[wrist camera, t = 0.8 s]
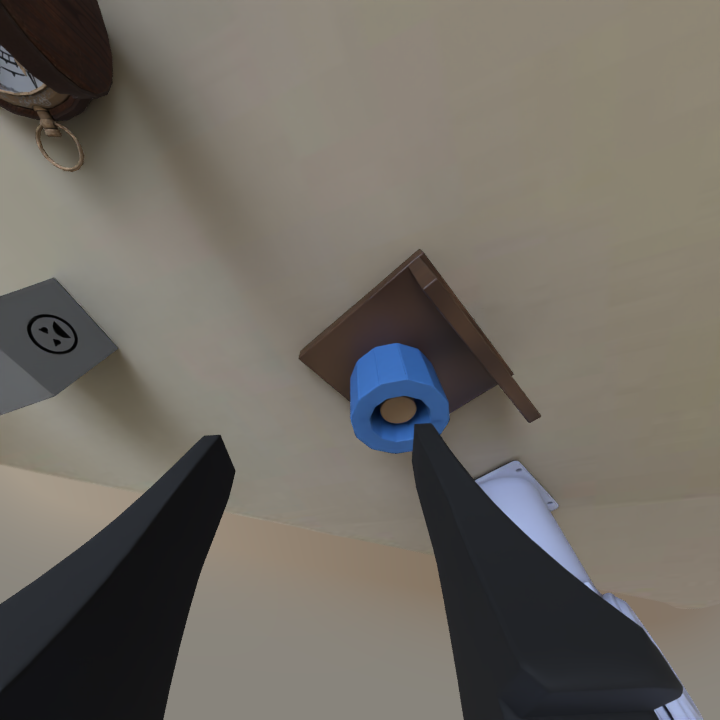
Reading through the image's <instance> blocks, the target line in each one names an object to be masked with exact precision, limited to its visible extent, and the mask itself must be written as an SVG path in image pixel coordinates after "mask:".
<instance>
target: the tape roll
mask: <svg viewBox="0 0 720 720" xmlns="http://www.w3.org/2000/svg"><path fill="white" fill-rule="evenodd" d="M401 396H408V397H412V398H414V399H415V402H416V406H417V410H416V413H415V415H414V416H413V417H412V418H411V419H410V420H408V421H407V422H404V423H399V424H395V423H390V422H388V421H386V420H385V419H384V418H383V417H382V416H381V413H380V407H379V404H381V403H382V402H384V401H385V400H386V399H389V398H395V397H401ZM350 419H351V423H352V426H353V429H354V433H355V435H356V437H357V438H358V439H359V440H361V441H362V442H363V443H364V444H366V445H367V446H368V447H370V448H371V449H374V450H379V451H384V452H388V453H395V454H397V453H403V452H409V451H413V437H414V424H422V423H431V424H433V425H434V427H435V428H436V430H437V431H438V433H439V435H440V434H441V433H442V431H443V430H444V428H445V427H446V425H447V424H448V422H449V420H450V418H449V402H448V400H447V397H446V395H445V393H444V390H443V388H442V386H441V384H440V381H439V379H438V377H437V374H436V372H435V370H434V367H433V365H432V363H431V362H430V361H429V360H428V359H427V357H426V356H425V355H424V354H423V353H422V352H421V351H420V350H419V349H417V348H414V347H410V346H407V345H403V344H400V343H394V344H388V345H383V346H378V347H375V348H373V349H372V350H370V351H369V352H368V353H367V354H365V355H364V356H363V357H361V358H360V359H359V360H358V361H357V362H356V365H355V367H354V370H353V372H352V375H351V378H350Z"/></svg>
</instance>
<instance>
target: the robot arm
mask: <svg viewBox="0 0 720 720" xmlns="http://www.w3.org/2000/svg"><path fill="white" fill-rule="evenodd" d="M412 464H413V471H414V477H415V483H416V488H417V492H418V496H419V499H420V503H421V507H422V510H423V514H424V517H425V521H426V525H427V528H428V532H429V536H430V539H431V543H432V546H433V550H434V554H435V558H436V562H437V567H438V572H439V578H440V582H441V588H442V593H443V599H444V604H445V610H446V615H447V620H448V626H449V631H450V638H451V644H452V650H453V655H454V661H455V667H456V673H457V679H458V686H459V692H460V698H461V705H462V711H463V717H464V720H703V717H702V716H701V714H700V712H699V710H698V709H697V707H696V705H695V704H694V702H693V700H692V699H691V697H690V695H689V694H688V692H687V691H686V689H685V688H684V686H683V684H682V683H681V681H680V680H679V678H678V677H677V675H676V673H675V672H674V670H673V669H672V667H671V666H670V664H669V663H668V661H667V660H666V658H665V657H664V655H663V653H662V652H661V651H660V649H659V648H658V646H657V645H656V643H655V642H654V640H653V639H652V637H651V636H650V634H649V633H648V631H647V630H646V628H645V627H644V625H643V624H642V623H641V621H640V620H639V618H638V617H637V616H636V614H635V613H634V611H633V610H632V609H631V607H630V606H629V605H628V604H627V603H626V602H625V601H624V600H622V599H620V598H618V597H615V596H614V595H613V594H612V593H606V594H603V595H602V594H601V593H600V592H599V591H598V590H597V589H596V588H595V586H594V584H593V583H592V581H591V579H590V578H589V576H588V574H587V573H586V571H585V569H584V567H583V566H582V564H581V562H580V561H579V559H578V557H577V556H576V554H575V552H574V551H573V549H572V547H571V545H570V544H569V542H568V540H567V539H566V537H565V535H564V534H563V532H562V530H561V529H560V527H559V525H558V524H557V522H556V520H555V519H554V517H553V515H552V514H551V512H550V511H553V510H555V509H557V508H558V504H557V502H556V501H555V500H554V499H553V498H552V497H551V496H550V494H549V493H548V492H547V491H546V490H545V489H544V488H543V487H542V486H541V485H540V484H539V482H538V481H537V480H536V479H535V478H534V477H533V476H532V475H531V474H530V473H529V472H528V471H527V469H526V468H525V467H524V466H523V465H522V464H521V463H520V462H519V461H512V462H510V463H508V464H506V465H504V466H502V467H500V468H498V469H496V470H494V471H492V472H490V473H488V474H486V475H484V476H482V477H480V478H478V479H476V480H474V479H473V478H472V477H471V476H470V474H469V473H468V472H467V471H466V469H465V468H464V467H463V466H462V464H461V463H460V462H459V461H458V459H457V458H456V457H455V456H454V454H453V453H452V451H451V450H450V449H449V447H448V446H447V445H446V443H445V442H444V440H443V439H442V437H441V436H440V435H439V433H438V431H437V430H436V428H435V427H434V425H433V424H431V423H422V424H414V437H413V452H412ZM234 475H235V469H234V466H233V464H232V461H231V459H230V457H229V454H228V452H227V450H226V447H225V445H224V442H223V440H222V438H221V435H210V436H203V437H202V438H201V439H200V440H199V441H198V442H197V443H196V444H195V445H194V446H193V447H192V448H191V449H190V450H189V451H188V452H187V453H186V454H185V455H184V456H183V457H182V458H181V459H180V460H179V461H178V462H177V463H176V464H175V465H174V466H173V467H172V468H170V469H169V470H168V471H167V472H166V473H165V474H164V475H163V476H162V477H161V478H160V479H159V480H158V481H157V482H156V483H155V484H154V485H153V486H152V487H151V488H150V489H148V490H147V491H146V492H145V493H144V494H143V495H142V496H141V497H140V498H138V499H137V500H136V501H135V502H134V503H133V504H132V505H131V506H130V507H128V508H127V509H126V510H125V511H124V512H123V513H122V514H121V515H119V516H118V517H117V518H116V519H115V520H114V521H113V522H111V523H110V524H109V525H108V526H106V527H105V528H104V529H103V530H101V532H99V533H98V534H96V535H95V536H94V537H93V538H91V539H90V540H89V541H88V542H86V543H85V544H84V545H83V546H81V547H80V548H79V549H78V550H76V551H75V552H73V553H72V554H71V555H69V556H68V557H66V558H65V559H64V560H62V561H61V562H60V563H58V564H57V565H56V566H54V567H53V568H51V569H50V570H49V571H48V572H46V573H45V574H43V575H42V576H41V577H39V578H38V579H36V580H35V581H34V582H32V583H31V584H29V585H28V586H26V587H25V588H23V589H22V590H20V591H19V592H18V593H16V594H15V595H13V596H12V597H10V598H9V599H7V600H6V601H4V602H3V603H1V604H0V720H163V718H164V713H165V708H166V704H167V699H168V694H169V690H170V685H171V681H172V677H173V672H174V669H175V664H176V660H177V656H178V652H179V647H180V644H181V640H182V636H183V632H184V628H185V625H186V621H187V617H188V613H189V610H190V606H191V603H192V599H193V596H194V592H195V589H196V585H197V582H198V579H199V576H200V573H201V570H202V567H203V564H204V561H205V559H206V556H207V554H208V551H209V549H210V546H211V543H212V541H213V538H214V536H215V533H216V530H217V528H218V525H219V523H220V520H221V518H222V515H223V512H224V510H225V507H226V504H227V502H228V499H229V495H230V491H231V488H232V484H233V479H234Z"/></svg>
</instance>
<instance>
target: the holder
mask: <svg viewBox="0 0 720 720" xmlns="http://www.w3.org/2000/svg"><path fill="white" fill-rule="evenodd" d="M394 343H400V344H403V345H407V346H410V347H414V348H417V349H419V350H420V351H421V352H422V353H423V354H424V355H425V356H426V357H427V359H428V360H429V361H430V362H431V363H432V365H433V367H434V370H435V372H436V374H437V377H438V379H439V381H440V384H441V386H442V388H443V390H444V393H445V395H446V397H447V400H448V402H449V414H450V413H451V412H453V411H455V410H456V409H458V408H460V407H461V406H463V405H465V404H466V403H468V402H470V401H471V400H473V399H475V398H476V397H478V396H479V395H481V394H483V393H484V392H486V391H488V390H489V389H491V388H493V387H494V386H496V385H499V386H500V388H501V389H502V390H503V391H504V393H505V394H506V395H507V396H508V398H509V399H510V400H511V401H512V403H513V404H514V405H515V406H516V408H517V409H518V410H519V411H520V413H521V414H522V415H523V416H524V418H525V419H526V420H527V421H528V422H529V423H531V422H532V421H534V420H536V419H538V418H540V417H541V415H540V413H539V412H538V411H537V409H536V408H535V407H534V405H533V404H532V403H531V401H530V400H529V399H528V397H527V396H526V395H525V393H524V392H523V391H522V389H521V388H520V387H519V385H518V384H517V383H516V381H515V380H514V379H513V378H512V375H514V374H513V372H512V371H511V369H510V368H509V367H508V365H507V364H506V363H505V361H504V360H503V359H502V357H501V356H500V354H499V353H498V352H497V350H496V349H495V348H494V346H493V345H492V344H491V342H490V341H489V340H488V338H487V337H486V336H485V334H484V333H483V332H482V330H481V329H480V328H479V326H478V325H477V324H476V322H475V321H474V320H473V318H472V317H471V316H470V314H469V313H468V311H467V310H466V309H465V307H464V306H463V305H462V303H461V302H460V301H459V299H458V298H457V297H456V295H455V294H454V293H453V291H452V290H451V289H450V287H449V286H448V285H447V283H446V282H445V281H444V279H443V278H442V277H441V275H440V274H439V273H438V271H437V270H436V268H435V267H434V266H433V264H432V263H431V262H430V260H429V259H428V258H427V256H426V255H425V254H424V252H423V251H422V250H420V249H419V250H418V251H416V252H415V253H414V254H413V255H412V256H411V257H409V258H408V259H407V260H406V261H405V262H404V263H402V264H401V265H400V266H399V267H398V268H397V269H395V270H394V271H393V272H392V273H391V274H390V275H388V276H387V277H386V278H385V279H384V280H383V281H381V282H380V283H379V284H378V285H377V286H376V287H375V288H373V289H372V290H371V291H370V292H369V293H368V294H366V295H365V296H364V297H363V298H362V299H361V300H359V301H358V302H357V303H356V304H355V305H354V306H352V307H351V308H350V309H349V310H348V311H347V312H345V313H344V314H343V315H342V316H341V317H340V318H338V319H337V320H336V321H335V322H334V323H333V324H331V325H330V326H329V327H328V328H327V329H326V330H324V331H323V332H322V333H321V334H320V335H319V336H317V337H316V338H315V339H314V340H313V341H312V342H311V343H309V344H308V345H307V346H306V347H305V348H304V349H302V350H301V351H300V355H299V359H300V360H301V361H302V362H303V363H304V364H306V365H307V366H308V367H309V368H310V369H312V370H313V371H314V372H315V373H316V374H318V375H319V376H320V377H321V378H322V379H324V380H325V381H326V382H327V383H328V384H330V385H331V386H332V387H333V388H334V389H336V390H337V391H338V392H339V393H340V394H342V395H343V396H344V397H345V398H346V399H348V400H349V401H350V378H351V375H352V372H353V370H354V367H355V365H356V362H357V361H358V360H359V359H360V358H361V357H363V356H364V355H365V354H367V353H368V352H369V351H370V350H372V349H373V348H375V347H378V346H383V345H388V344H394ZM379 407H380V413H381V416H382V417H383V418H384V419H385V420H386V421H388V422H390V423H395V424H399V423H404V422H407V421H408V420H410V419H411V418H412V417H413V416H414V415H415V413H416V410H417V406H416V402H415V399H414V398H412V397H408V396H401V397H395V398H389V399H386V400H385V401H384V402H382V403H381V404H379Z"/></svg>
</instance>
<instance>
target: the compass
mask: <svg viewBox="0 0 720 720" xmlns="http://www.w3.org/2000/svg"><path fill="white" fill-rule="evenodd" d="M112 77H113V68H112V54H111V49H110V44H109V39H108V34H107V31H106V27H105V24H104V21H103V18H102V15H101V11H100V8H99V5H98V2H97V0H0V107H2V108H4V109H6V110H8V111H10V112H12V113H14V114H17V115H21V116H25V117H29V118H33V119H37V120H40V124H39V125H38V127H37V128H36V137H35V139H36V142H37V144H38V147H39V149H40V151H41V152H42V154H43V155H44V157H45V158H46V159H47V160H48V161H49V162H51V163H52V164H53V165H54V166H56V167H58V168H60V169H62V170H64V171H70V172H73V171H76V170H79V169H80V167H81V166H82V165H83V162H84V153H83V150H82V146H81V144H80V143H79V141H78V140H77V138H76V136H75V135H74V134H73V133H72V132H71V131H70V130H69V129H67V128H66V127H65V126H63V125H61V124H59V123H58V122H55V121H63V120H69V119H71V118H73V117H74V116H76V115H78V114H80V113H82V112H83V111H84V110H85V109H86V107H87V106H88V104H89V103H90V102H91V100H92V99H93V98H99V97H102V96H105V95H108V92H109V90H110V87H111V85H112ZM58 127H59V128H61V129H63V130H65V131H66V132H67V133H68V134H69V135H70V136H71V137H72V138H73V140H74V141H75V143H76V145H77V147H78V150H79V154H80V157H79V162H78V164H77V165H76V166H75V167H72V168H67V167H63V166H61V165H59V164H57V163H55V162H54V161H53V160H52V159H51V158H50V157H49V156H48V155H47V153H46V152H45V150H44V149H43V146H42V143H41V140H40V135H41V131H42V129H43V128H44V129H45V130H44V131H45V133H46V135H47V136H49V137H61V136H62V134H61V132H60V130H58Z"/></svg>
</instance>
